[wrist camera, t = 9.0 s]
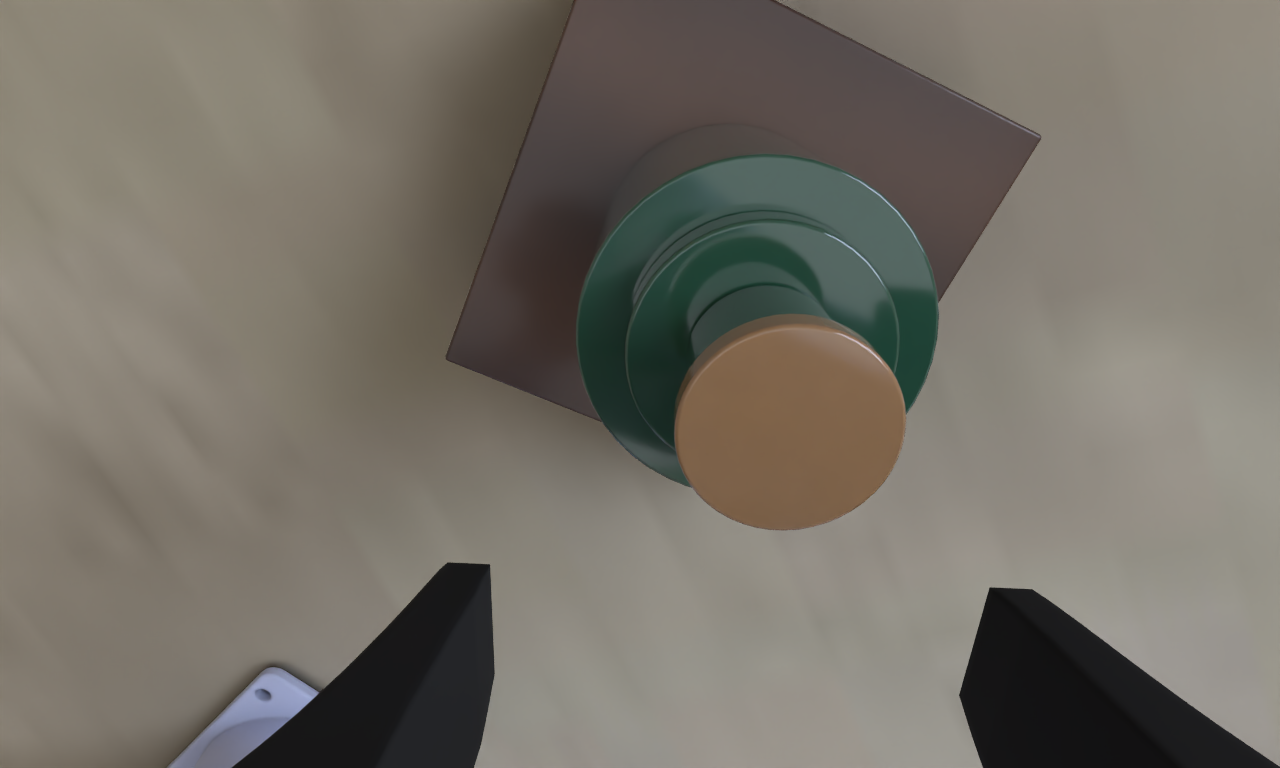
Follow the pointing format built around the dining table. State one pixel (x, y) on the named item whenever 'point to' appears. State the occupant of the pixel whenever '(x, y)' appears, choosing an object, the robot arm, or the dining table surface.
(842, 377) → the bottle
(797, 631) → the dining table surface
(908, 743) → the dining table surface
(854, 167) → the block
